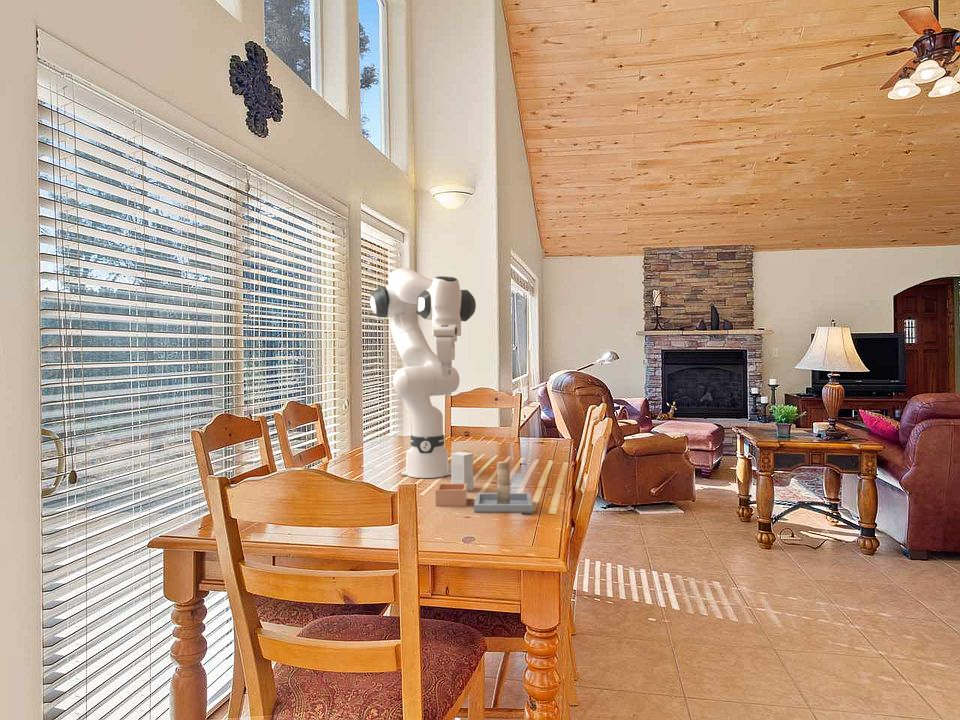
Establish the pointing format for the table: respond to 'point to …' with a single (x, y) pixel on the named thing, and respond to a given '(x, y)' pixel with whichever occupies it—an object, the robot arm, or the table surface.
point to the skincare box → (462, 469)
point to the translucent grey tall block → (503, 483)
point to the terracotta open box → (451, 495)
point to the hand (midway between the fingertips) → (446, 376)
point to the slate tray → (489, 504)
